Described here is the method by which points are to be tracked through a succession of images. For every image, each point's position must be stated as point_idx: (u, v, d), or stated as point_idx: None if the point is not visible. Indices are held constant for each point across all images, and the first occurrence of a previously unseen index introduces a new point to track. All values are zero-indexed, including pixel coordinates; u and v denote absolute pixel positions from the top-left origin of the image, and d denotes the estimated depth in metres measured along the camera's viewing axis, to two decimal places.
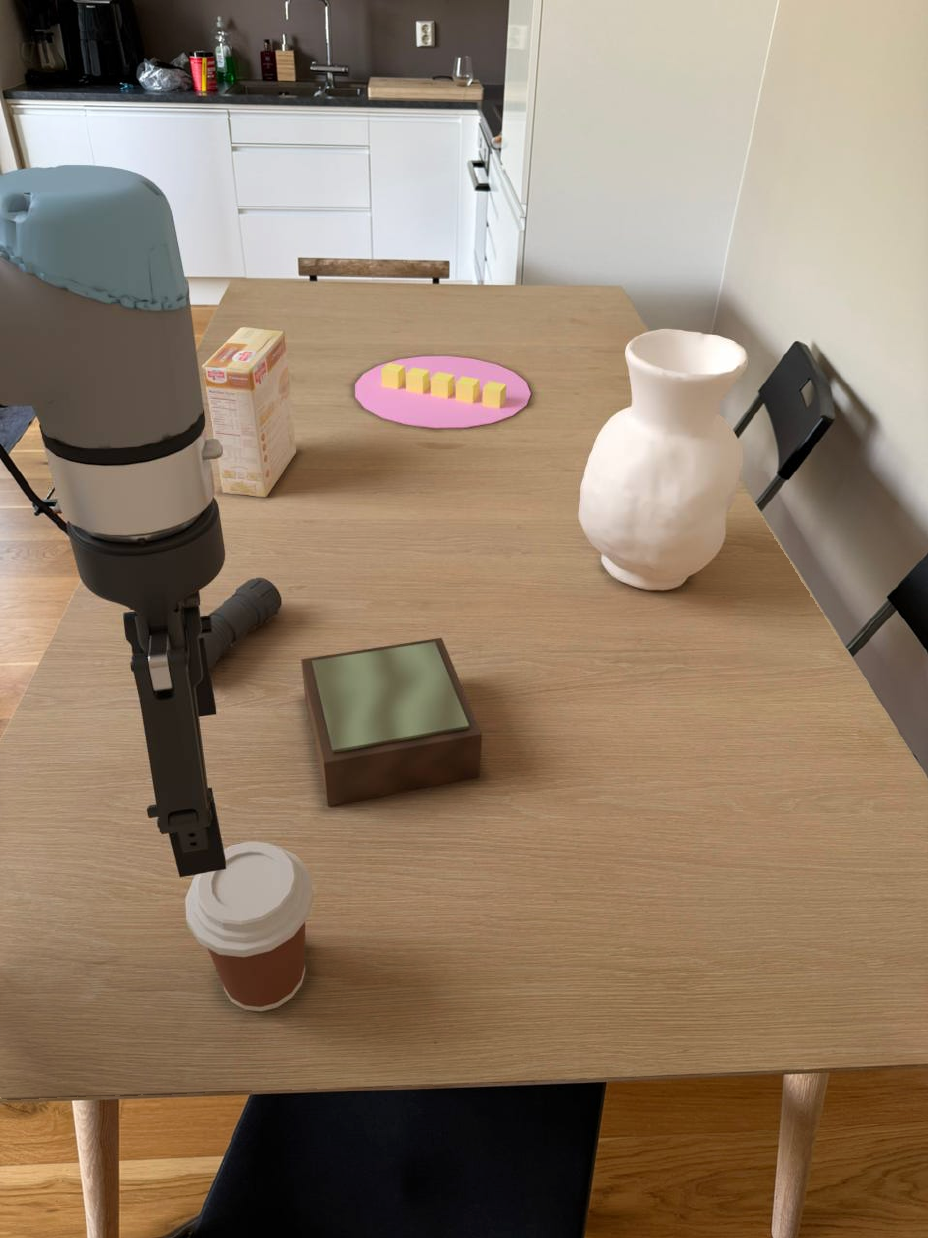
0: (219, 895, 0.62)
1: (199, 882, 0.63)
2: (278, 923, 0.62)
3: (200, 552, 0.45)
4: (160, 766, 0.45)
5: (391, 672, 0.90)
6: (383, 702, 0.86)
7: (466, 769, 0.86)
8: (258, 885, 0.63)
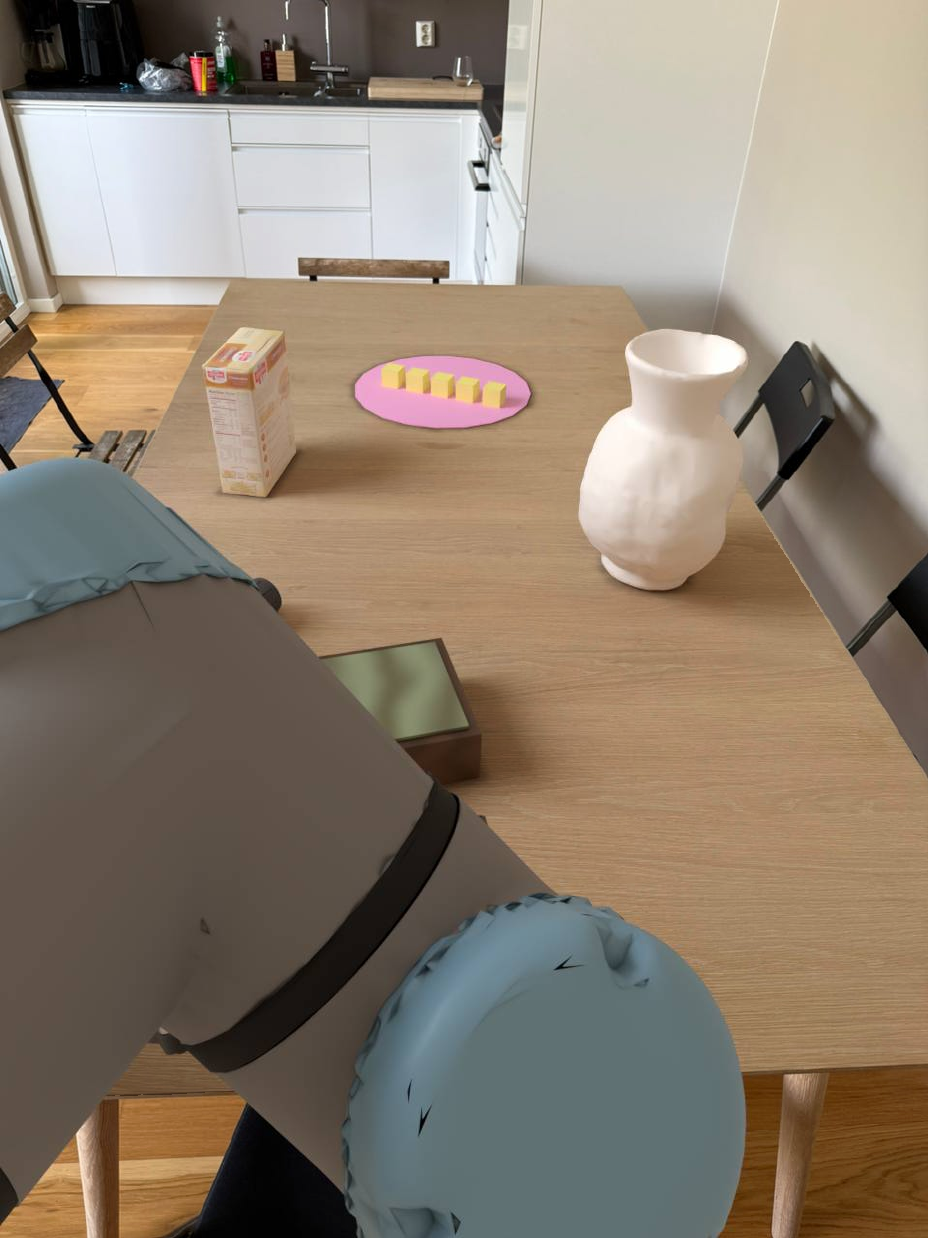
0: None
1: None
2: None
3: None
4: None
5: (391, 672, 0.90)
6: (383, 702, 0.86)
7: (466, 769, 0.86)
8: None
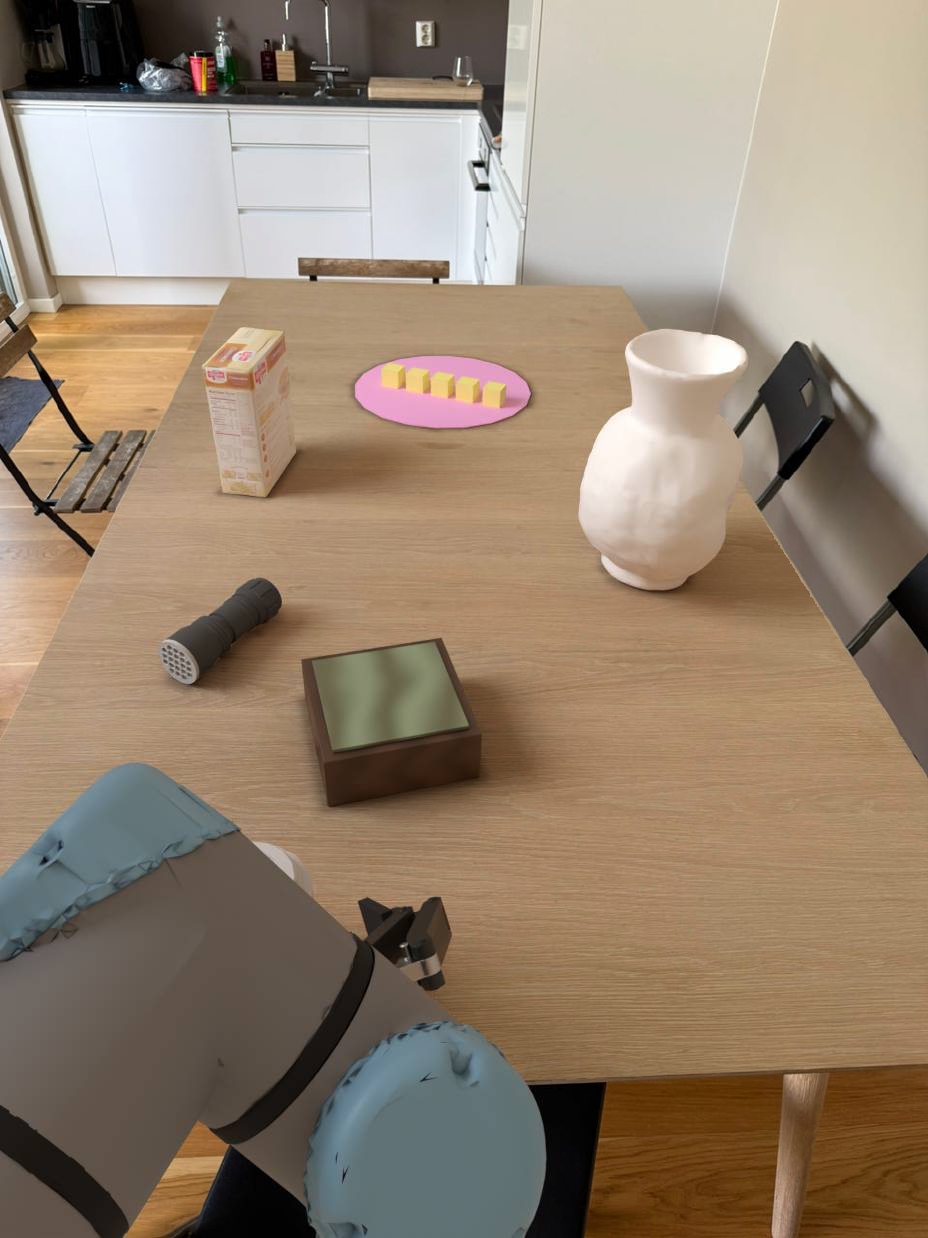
0: None
1: None
2: None
3: None
4: None
5: (391, 672, 0.90)
6: (383, 702, 0.86)
7: (466, 769, 0.86)
8: None
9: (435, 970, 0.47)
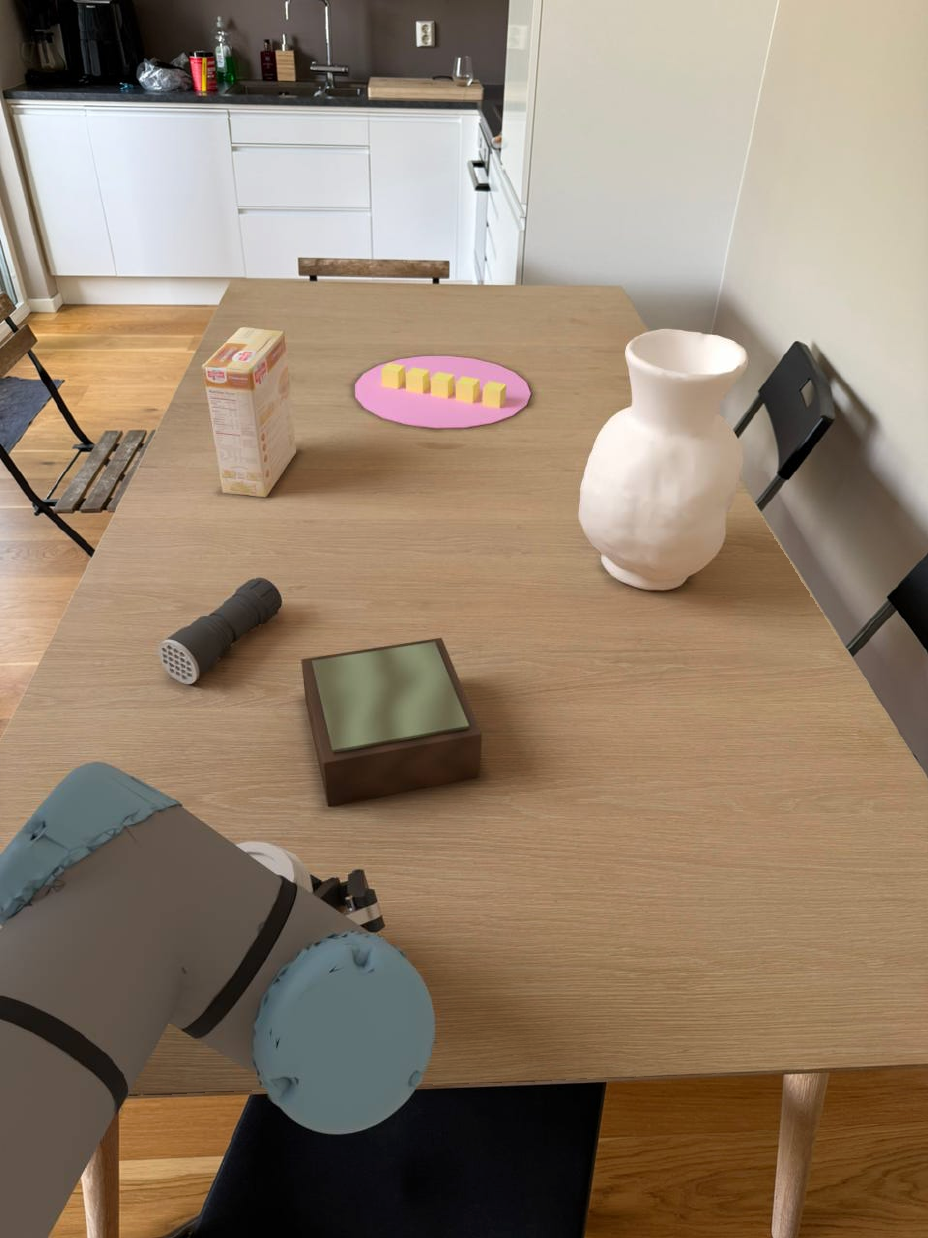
0: None
1: None
2: None
3: None
4: None
5: (391, 672, 0.90)
6: (383, 702, 0.86)
7: (466, 769, 0.86)
8: None
9: (378, 915, 0.57)
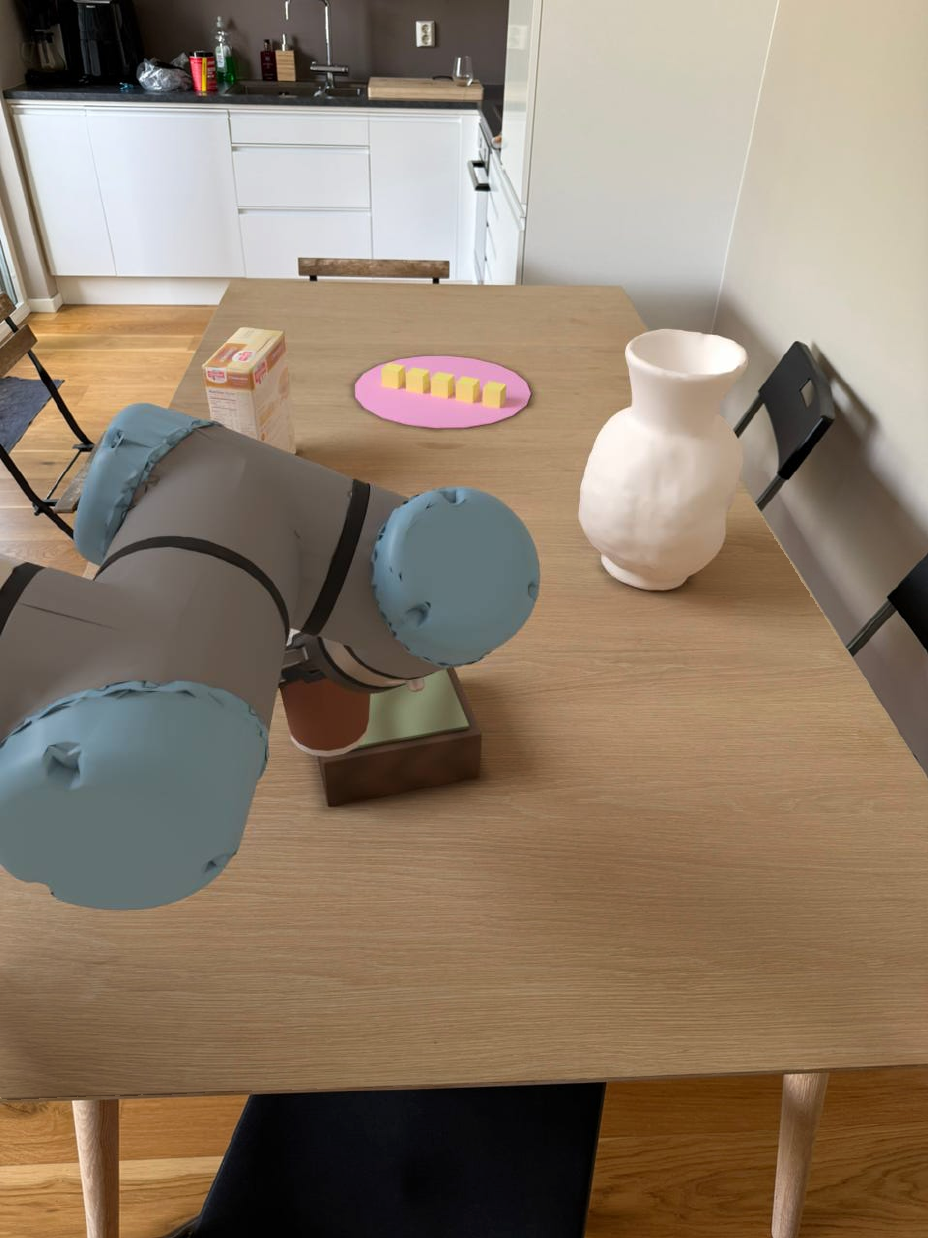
0: None
1: None
2: None
3: (345, 682, 0.52)
4: None
5: None
6: (383, 702, 0.86)
7: (466, 769, 0.86)
8: None
9: None
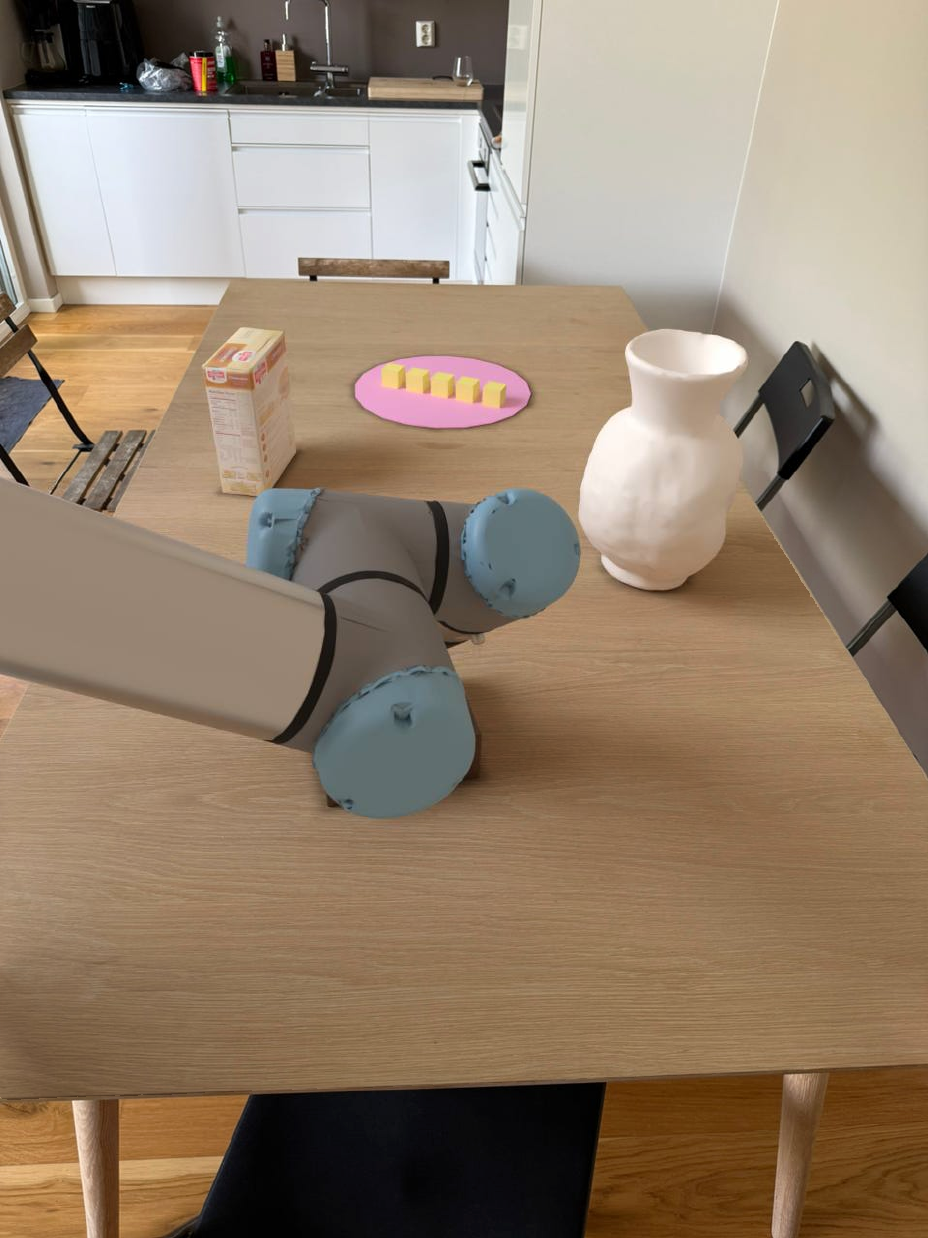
0: None
1: None
2: None
3: None
4: None
5: None
6: None
7: None
8: None
9: None
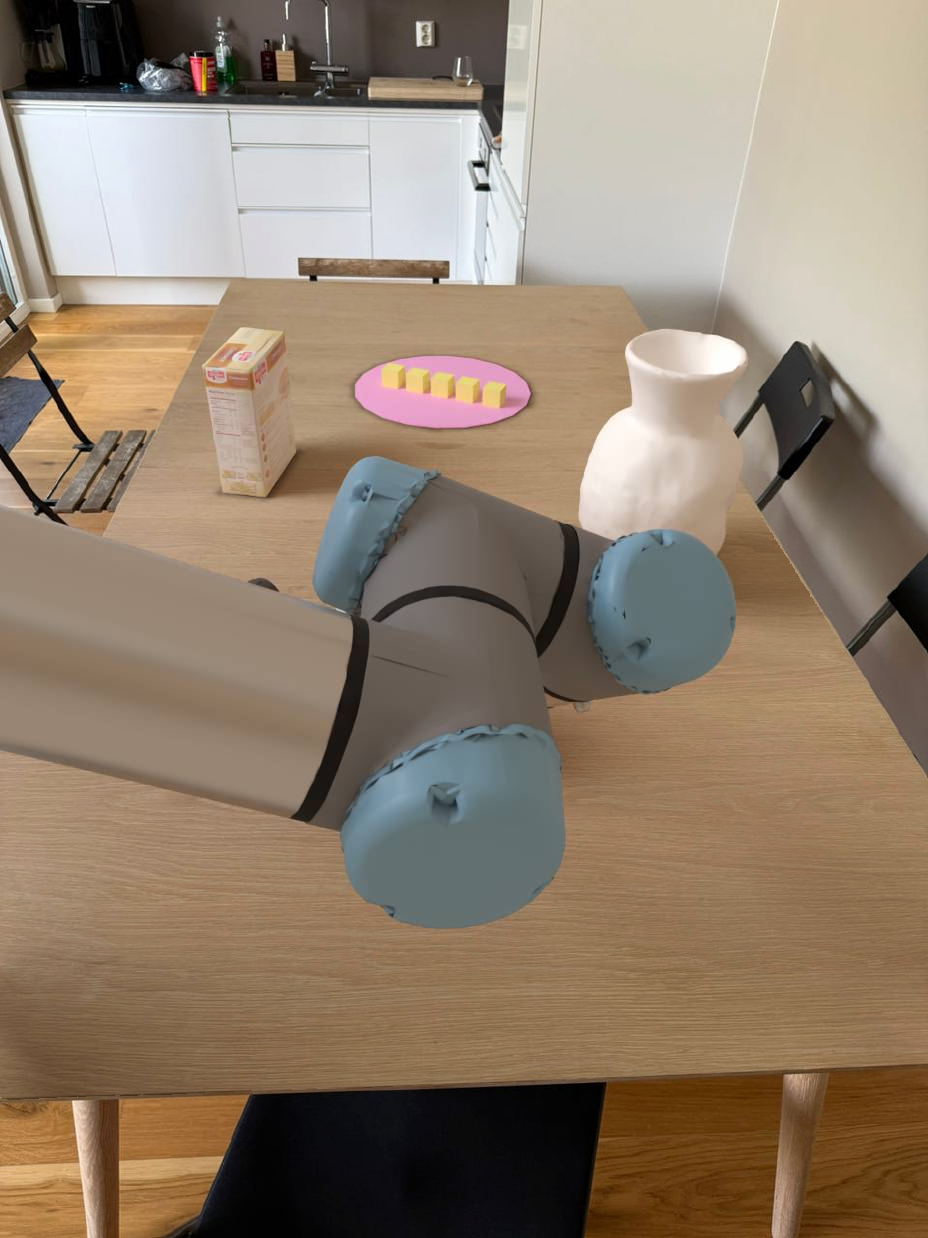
0: None
1: None
2: None
3: None
4: None
5: None
6: None
7: None
8: None
9: None
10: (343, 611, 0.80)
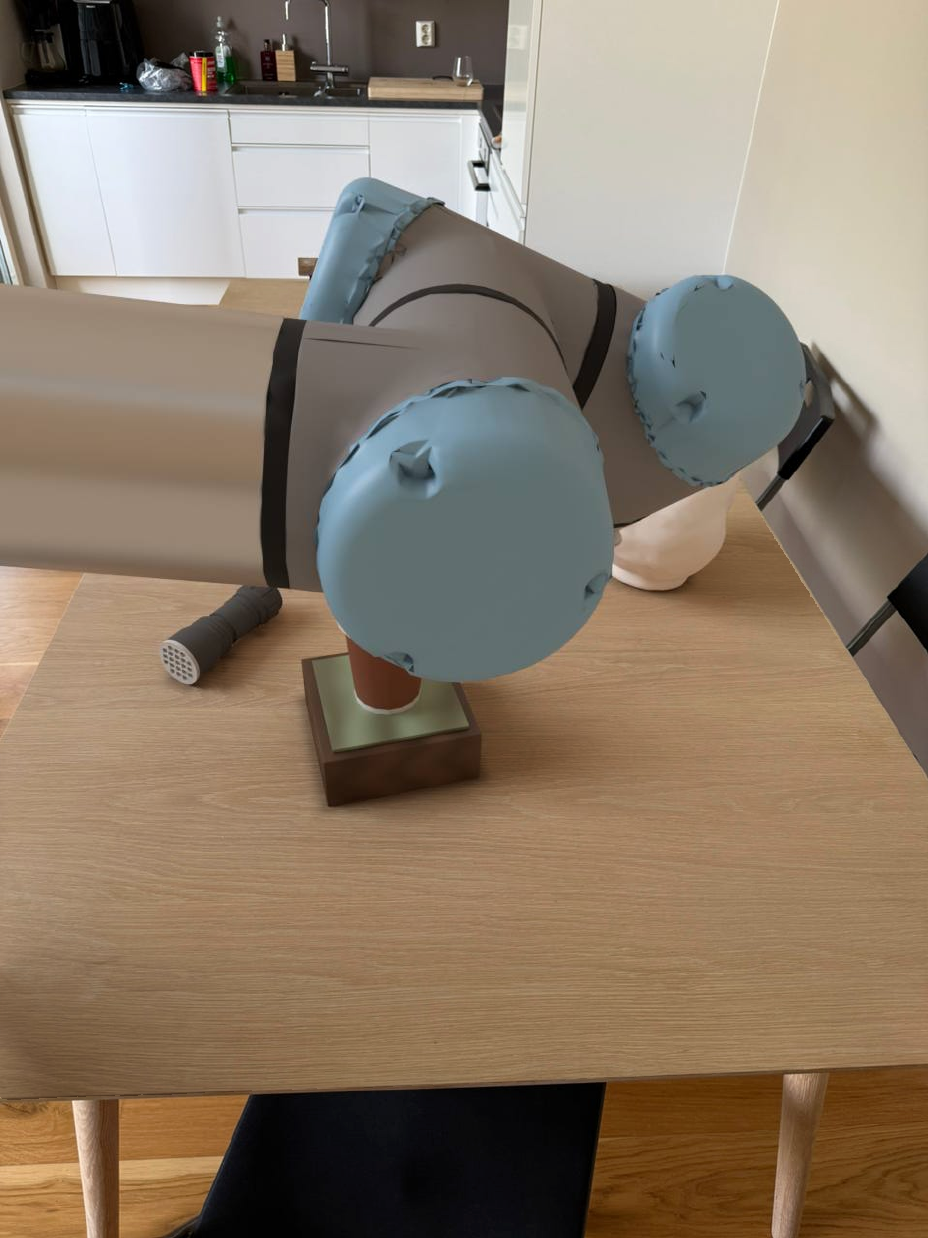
0: None
1: None
2: None
3: None
4: None
5: None
6: None
7: (466, 769, 0.86)
8: None
9: None
10: None
